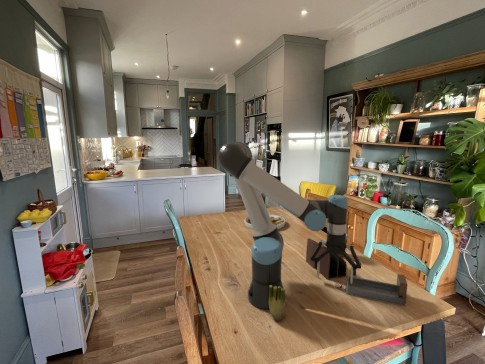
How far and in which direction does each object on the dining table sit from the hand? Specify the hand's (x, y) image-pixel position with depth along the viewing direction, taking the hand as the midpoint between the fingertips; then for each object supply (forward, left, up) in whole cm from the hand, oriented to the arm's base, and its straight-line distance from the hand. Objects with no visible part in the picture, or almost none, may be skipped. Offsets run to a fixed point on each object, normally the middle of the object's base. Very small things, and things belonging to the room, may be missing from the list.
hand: (334, 279), depth 111 cm
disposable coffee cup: (+33, 0, -4) cm, 33 cm away
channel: (0, -16, -3) cm, 16 cm away
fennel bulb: (-29, +17, -4) cm, 34 cm away
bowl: (+64, +54, -4) cm, 83 cm away
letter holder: (+14, +5, -4) cm, 15 cm away
